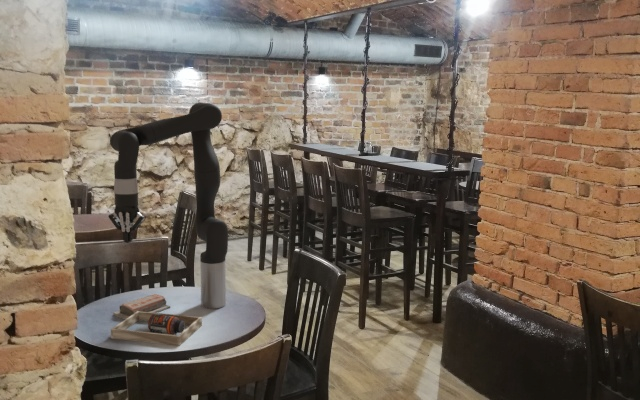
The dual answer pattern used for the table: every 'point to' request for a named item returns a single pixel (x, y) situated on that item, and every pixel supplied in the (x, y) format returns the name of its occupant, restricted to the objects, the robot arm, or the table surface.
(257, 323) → the table surface
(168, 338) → the wooden frame
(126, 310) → the packaged product
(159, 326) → the supplement bottle
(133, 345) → the table surface
